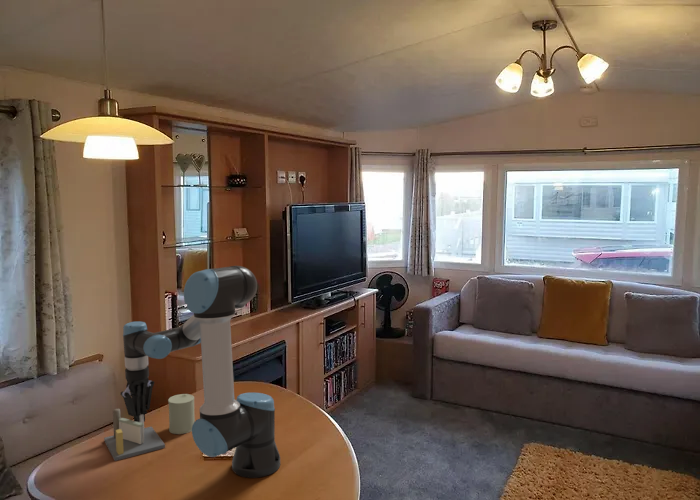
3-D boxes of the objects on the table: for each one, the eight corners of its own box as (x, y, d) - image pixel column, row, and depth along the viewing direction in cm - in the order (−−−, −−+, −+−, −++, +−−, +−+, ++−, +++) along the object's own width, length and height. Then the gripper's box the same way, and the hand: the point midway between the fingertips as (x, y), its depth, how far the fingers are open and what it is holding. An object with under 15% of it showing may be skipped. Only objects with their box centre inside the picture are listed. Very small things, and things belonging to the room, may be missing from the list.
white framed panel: (119, 438, 186) (118, 419, 185) (123, 436, 187) (122, 417, 187) (140, 444, 182) (139, 425, 181) (144, 442, 183) (143, 423, 182)
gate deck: (165, 447, 182) (164, 416, 181) (114, 461, 173) (113, 428, 172) (151, 429, 196) (150, 400, 195) (104, 440, 187) (102, 410, 186)
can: (199, 423, 201) (198, 393, 200) (189, 434, 192) (188, 402, 191) (175, 422, 202) (174, 392, 201) (164, 433, 193) (163, 401, 192)
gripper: (143, 359, 191) (146, 422, 194) (113, 371, 180) (117, 437, 183) (159, 362, 188) (162, 426, 191) (129, 374, 176) (133, 442, 180)
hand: (140, 432), depth 187 cm, fingers closed
